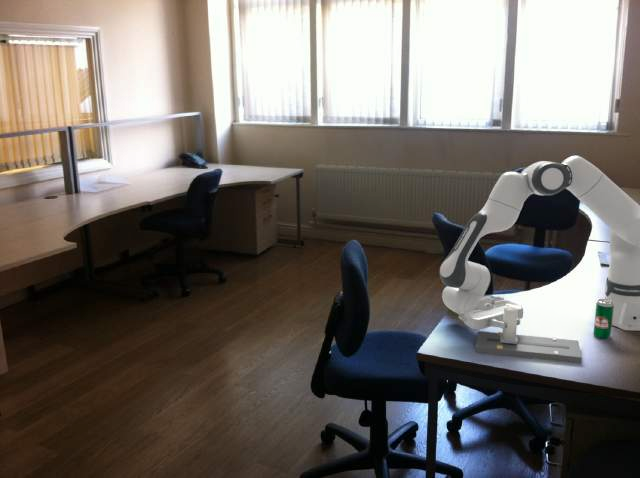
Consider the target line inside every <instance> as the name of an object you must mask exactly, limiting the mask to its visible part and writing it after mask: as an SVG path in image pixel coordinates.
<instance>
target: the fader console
mask: <svg viewBox="0 0 640 478" xmlns="http://www.w3.org/2000/svg"><path fill="white" fill-rule="evenodd" d="M501 334H503V332H499V331H498V332H492V331H482V330H477V336H476V341H475V353H477V354H487V355H497V356H504V357H505V356H506V357H515V358H522V359H523V358H524V359H532V360H534V359H535V360H544V361H552V362H553V361H554V362H561V363H562V362H564V363H570V364H571V363H573V364H580V365H581V364H582V360H583V357H582V351H581V346H580V343H579V342H580V341H579V340H574V339H565V338H557V337H543V336H533V335H525V334H524V335H523V334H517V335H518V343H517V344H512V343H502V342H500V339H501Z"/></svg>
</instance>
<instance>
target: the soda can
mask: <svg viewBox="0 0 640 478" xmlns="http://www.w3.org/2000/svg"><path fill="white" fill-rule="evenodd" d="M613 310H614V305H613V301H611V300H608V299H605V298H600V299H598V300H597V302H596V305H595V315H594V323H593V324H594V325H593V336H594V337H596V338H597V339H600V340H607V339H609V338H611V335H612V327H613V325H612V319H613Z"/></svg>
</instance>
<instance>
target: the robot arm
mask: <svg viewBox="0 0 640 478" xmlns="http://www.w3.org/2000/svg"><path fill="white" fill-rule="evenodd" d="M563 190H567V191H569V192H570V193H571V194H572V195H573V196H575V198H577V200H579V201H580V202H581V203H582V204H583V205H584V206H585V207H587V208H588V209H589V210H590V211H591V212H592V213H593V214H594V215H595V216H596V217H597V218H598V219H599V220H600V221H602V223H604V224H605V225H606V226H607V227H609V267H608V276H607V277H606V280H605V286H604V287H605V288H604V294H605V295H604V296H605V297H604V299H608V300H611V301H613V305H614V310H613V319H612V327H613V326H614V327H617V328H619V329H621V330H623V331H636V332H639V331H640V204H639V203H638V202H636V201H635V200H634V199H633V198H632V197H630V196H629V195H628V194H627V193H626V192H625V191H624V190H623V189H622V188H620V187H619V186H618V185H617V184H616V183H615V182H614V181H612V180H611V179H610V178H609V177H608V176H607V175H606V174H605V173H604V172H603V171H601V170H600V169H599V168H598V167H597V166H596V165H594V164H593V163H591V162H590V161H588V160H587V159H586V158H583V157H582V156H580V155H571V156H569V157H567V158H566V159H564V160H563V161H562V162H561V163H560V162H557V161H546V160H541V161H536V162H531V163H529V164H528V165H526V166H525V167H524V168H523V169H521V170H520V171H519V172H517V171H506V172H504V173H502V174H501V175H500V176H499V178H498V180H497V181H496V183H495V185H494V186H493V188H492V190H491V192H490V193H489V196H488V199H487V201H486V202H485V204H484V206H483V207H482V208H481V209H480V211H478V212H477V213H475V214H473V215H472V217H471V218H470V219H469V221H468V222H467V223H466V225H465V227H464V229H463V230H462V232H461V233H460V235H459V237H458V239H457V240H456V242H455V244H454V246H453V247H452V249H451V250H450V252H449V253H448V255H447V256H446V257H445V258H444V260H443V261H442V262H441V264H440V265H439V274H438V275H439V277H440V280H441V283H442V284H443V285H444V286H445V287H444V289H443V290H442V293H441V297H442V302H443V303H444V305H445V306H446V307H447V308H448V309H449V310H451V311H452V312H453V313H456V314H457V315H459V316H458V319H459V320H461V321H463V323H464V324H465V325H466V326H467V327H469V328H471V330H475V331H481V330H485V329H488V328H491V327H493V328H500V329H502V330H503V329H505V328H507V323H506V322H504V321H503V317H504V308H506V307H513V308H516V309H518V314H517V326H518V325H521V319H523V318H524V308H523V306H521V305H520V304H517V303H516V302H514V301H510V300H506V299H505V297H503V296H501V295H496V296H495V295H491V296H489V295H485V294H486V292H487V291H488V289H489V287H490V284H491V279H492V278H491V272H490V270H489V269H488V268H487V267H486V265H482V264H480V263H477V262H473V261H470V260H469V258H470V255H471V254H472V252H473V250H474V249H475V247H476V245H477V243H478V242H479V240H480V239H481V238H482V237H484V236H485V235H487V234H492V233H499V232H503V231H506V230H509V229H510V228H512V227H513V225H514V224H515V223H516V222H517V220H518V218H519V216H520V213H521V211H522V208H523V206H524V204H525V203H524V202H526V200H527V199H528V198H529V196H531V195H537V196H554V195H556V194H558V193H560V192H561V191H563Z"/></svg>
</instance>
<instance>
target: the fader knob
mask: <svg viewBox="0 0 640 478" xmlns="http://www.w3.org/2000/svg"><path fill="white" fill-rule="evenodd" d="M517 314H518V309H516V308H513V307H506V308H504V317H503V321H504V322H506V323H507V328H505V329H502V333H503V334H501V339H500V342H502V343H512V344H517V343H518V335H519V334H517V327H518V325H517Z"/></svg>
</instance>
